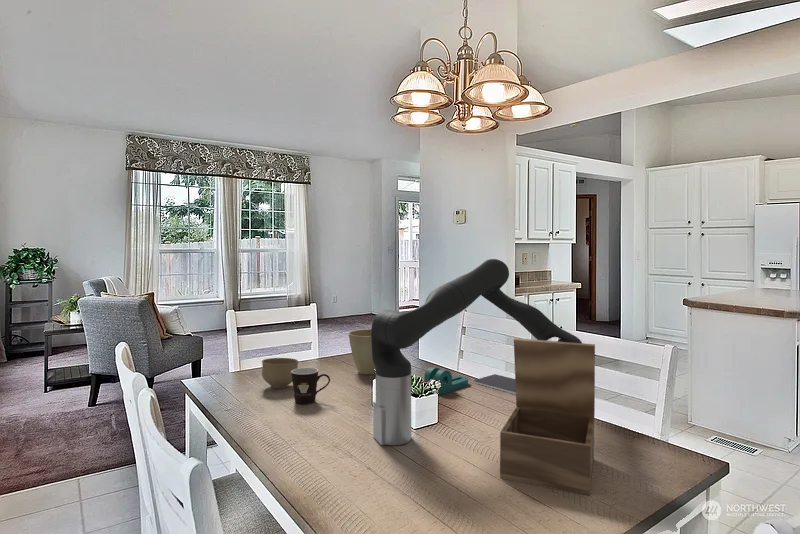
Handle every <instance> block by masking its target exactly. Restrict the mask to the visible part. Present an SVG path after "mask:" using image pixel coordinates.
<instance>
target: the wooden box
mask: <svg viewBox="0 0 800 534" xmlns="http://www.w3.org/2000/svg"><path fill="white" fill-rule="evenodd" d="M499 440H500V441H499V444H500V445H499V448H500V449H499V450H500V453H499V478H500V479H504V480H509V481H513V482H519V483H524V484H529V485H534V486H538V487H542V488H543V487H544V488H550V489H556V490H560V491H565V492H569V493H574V494H579V495H580V494H581V495H585V496H590V494H591V485H592V478H593V470H594V469H593V467H594V462H595V461H594V458H595V416H594V417H589V416H582V415H574V414H567V413H559V412H552V411H544V410H537V409H529V408H522V407H515V408H514V410H513V411H512V413H511V414H510V416H509V417H508V420H507V421H506V423H505V424H504V426H503V428H502V429H501V431H500V435H499Z"/></svg>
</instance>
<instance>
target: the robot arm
mask: <svg viewBox="0 0 800 534" xmlns="http://www.w3.org/2000/svg"><path fill="white" fill-rule="evenodd" d="M509 278H510V271H509V267H508V265H507V264H506V263H505V262H504V261H502V260H501V259H500V260H499V259H496V258H490V259H486V260H484V262H482V263H481V264H479V265H478V266H476V267H475V268H474V269H473V270H470V271H469V272H468V273H465V274H462V275H461V276H458V277H456V278H455V279H452V280H450V281H448V282H446V283H444V284H442V285H440V286H438V287H436V288H435V289H433V290H432V291H430V293H429V294H428V295H427V298H426V299H425V302H424V304H422V305H421V306H419V307H417V308H415V309H412V310H410V311H404V312H403V311H396V310H395V311H394V310H389V309H388V310H387V309H386V310H381V311H378V313H377V314H376V315H374V318H373V319H372V324H371V328H370V329H371V343H372V359H373V363H374V365H375V369H376V373H375V400H373V401H372V418H373V419H372V420H373V421H372V426H373V428H372V435H373V436H372V437H373V438H374V439H375V440H376V441H377V442H378V443H379V445H380V446H385V445H386V446H401V445H405V444H407V443H409V442H410V441H411V440H412V364H411V361H410V360H409V359H408V358H406V357H405V355H403V353H402V351H401V350H404V349H407V348H409V347H411V346H413V345H414V344H415V343H417V342H418V341H419V340H421V339H422V338H423V337H425V335H427V334H428V333H429V332H430V331H432V330H433V329H435V328H436V327H438V326H440V325H441V324H443V323H444V322H446V321H448V320H449V319H451V318H453V317H456V316H457V315H458V314H460V313H462V312H463V311H464V310H466V309H467V308H468V307H470V306H471V305H472V304H473V303H474V302H475V301H476V300H477V299H478V298H480V297H483V298H484V299H485V300H487V301H488V302H490V303H491V304H493V305H494V306H496V307H497V308H498V309H500V310H501V311H502V312H503V313H506V315H508V316H510V317H511V318H513V320H515V321H516V322H518V324H520V325H521V326H522V327H523V328H525V329H524V330H526V331H528V332H529V334H531V336H533V337H534V339H535V340H545V341H549V340H550V339H552V338H558V340H557V341H558V342H571V343H583V342H582V340H581V339H580V338H579V337H578V336H576V335H574V334H572V333H570V332H568V331H566V330H565V329H562V328H561V327H559V326H558V325H557V324H555V323H554V322H553V321H552V320H551V319H550V318H548V317H547V316H546V315H545V314H544V313H543V312H542V311H541V310H539V309H538V308H536V307H535V306H533V305H530V304H529V303H524V302H522V301H519V300H517V299H514V298H512V297H510V296H508V295H507V294H505V293H504V292H503V291H502V290H501V288H502V287H503V286H504V285H505V284H506V283H507V282H508V279H509Z"/></svg>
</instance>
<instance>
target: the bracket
mask: <svg viewBox="0 0 800 534" xmlns="http://www.w3.org/2000/svg"><path fill="white" fill-rule="evenodd" d="M423 379H424V381H423V382H428V381H429V380H430V379H434V380H440V383H441V387H440V388H439V390H438V393H439V395H438V396H440V395H443V394H446V393H449V392H452V391H455V390H456V391H457V390H458V389H462V388H464V387H467V386H468V385H469V377H467V376H463V375H452V373H451V372H450V370H447V369H442V368H438V367H436V366H435V367H434V366H430V367H428V368H427V369H426V371H425V373H424V378H423Z"/></svg>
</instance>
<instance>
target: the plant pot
mask: <svg viewBox="0 0 800 534" xmlns="http://www.w3.org/2000/svg"><path fill="white" fill-rule="evenodd" d="M348 340H349V346H350V351H351V355H352V358H353V361H354V364H355V367H356V371H358V372H359V373H358V374H360V375H364V374H370V375H374V374H373V373H375V370H374V369H375V365H374V363H373V359H372V343H371V328H369V329H367V328H365V329H355V330H351V331H348ZM375 374H376V373H375Z"/></svg>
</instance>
